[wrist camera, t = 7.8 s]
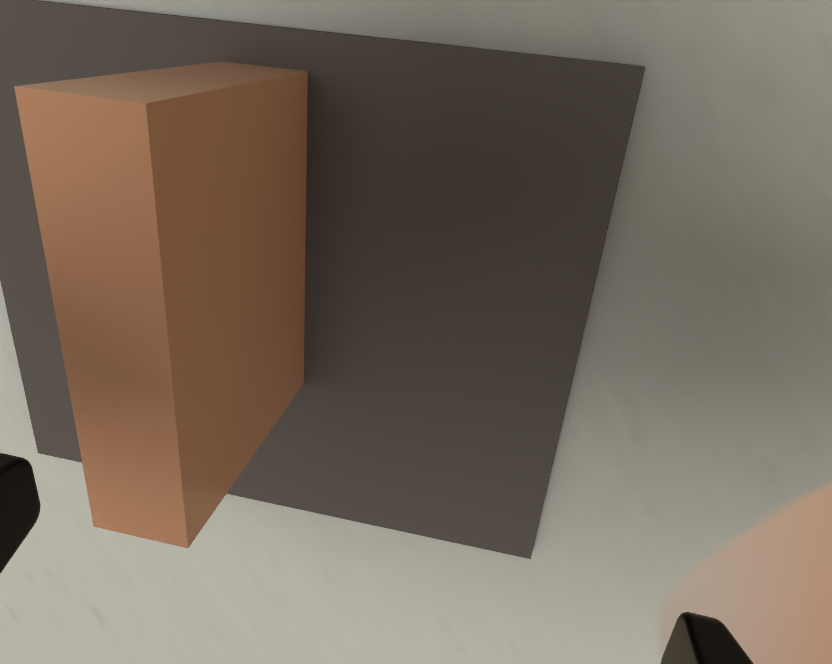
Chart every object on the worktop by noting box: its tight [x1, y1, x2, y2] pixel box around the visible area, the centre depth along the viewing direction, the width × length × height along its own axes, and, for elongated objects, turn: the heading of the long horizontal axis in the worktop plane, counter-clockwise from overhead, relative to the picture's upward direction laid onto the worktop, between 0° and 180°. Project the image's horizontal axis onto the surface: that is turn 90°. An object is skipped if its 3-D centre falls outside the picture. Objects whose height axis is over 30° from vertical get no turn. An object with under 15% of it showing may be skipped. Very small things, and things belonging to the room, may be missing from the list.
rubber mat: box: [0, 0, 645, 559], centre depth 19 cm, size 18×15×1 cm
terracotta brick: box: [14, 61, 308, 548], centre depth 15 cm, size 2×9×7 cm, turn 175°
